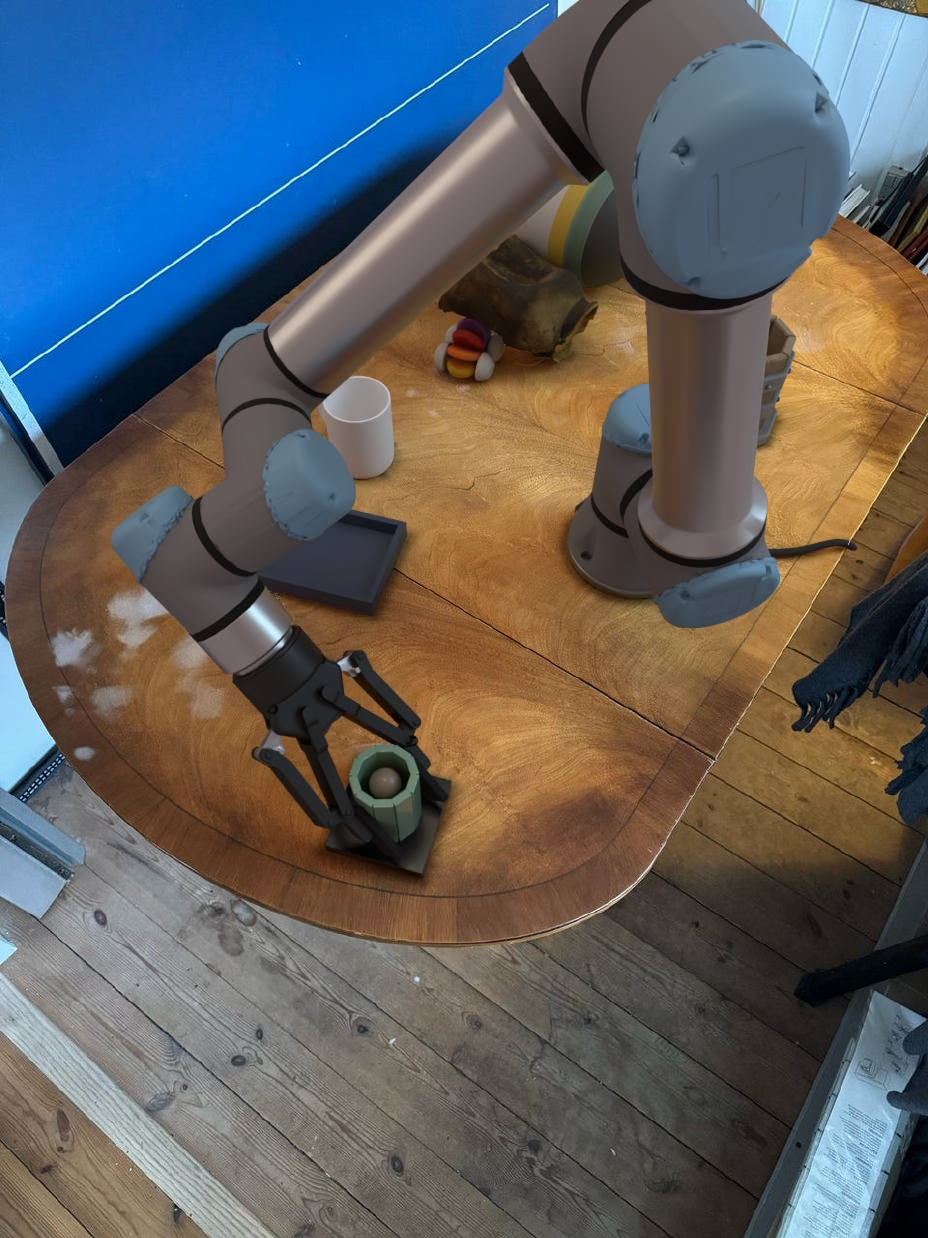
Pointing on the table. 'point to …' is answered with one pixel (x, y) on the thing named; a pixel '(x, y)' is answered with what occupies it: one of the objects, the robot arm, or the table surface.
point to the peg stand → (414, 845)
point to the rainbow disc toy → (469, 350)
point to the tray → (342, 563)
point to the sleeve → (402, 809)
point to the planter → (578, 232)
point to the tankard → (774, 373)
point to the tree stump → (523, 300)
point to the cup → (360, 425)
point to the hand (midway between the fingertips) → (417, 825)
